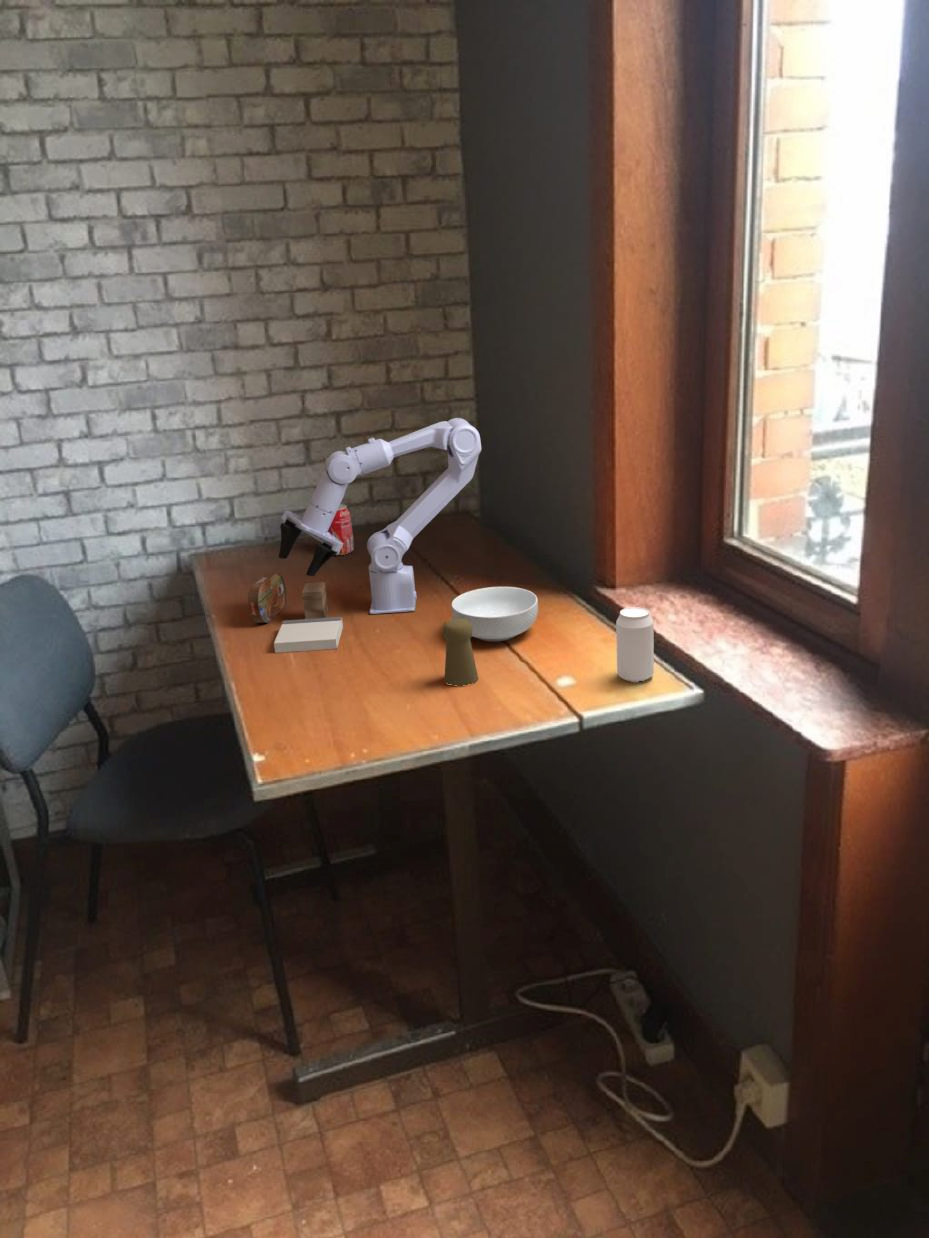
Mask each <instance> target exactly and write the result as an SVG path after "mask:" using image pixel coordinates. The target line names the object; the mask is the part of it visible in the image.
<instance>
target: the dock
mask: <svg viewBox="0 0 929 1238" xmlns="http://www.w3.org/2000/svg"><path fill="white" fill-rule="evenodd" d="M343 628H344V623H343V617H342V616H334V617H331V616H330V617H327V618H316V619H305V618H304V619H303V618H302V619H290V620H289V619H288V620H283V621H282V622H281V626H280V628H279V630H278V632H277V635H276V637H275V639H274V642H273V647H274V653H275V654H277V653H279V654H280V653H293V652H295V653H296V652H306V651H307V652H308V651H320V650H321V651H324V650H325V651H326V650H337V649H338V646H339V643H340V639H341V635H342V631H343Z"/></svg>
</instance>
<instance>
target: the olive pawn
mask: <svg viewBox="0 0 929 1238" xmlns="http://www.w3.org/2000/svg"><path fill="white" fill-rule="evenodd" d="M472 633H473V628H472V625H471V623H470V622H469V621H467V620H464V619H450V620H448V621H446V622H445V623H444V625H443V627H442V635H443V638H444V639H445V641H446V645H445V661H444V662H445V663H444V665H445V666H444V678H443V679H444V680H445V681H444V683H445V682H446V683H448V684H452V685H457V686H463V685H468V684H472V683H474V684H476V683H477V682H478V681H479V676H478V675H479V674H478V670H477V666H476V660H475V656H474V652H473V651H474V650H473V646H472V642H471V638H472ZM446 683H445V684H446ZM472 685H473V684H472ZM463 687H464V686H463Z"/></svg>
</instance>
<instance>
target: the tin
mask: <svg viewBox="0 0 929 1238" xmlns="http://www.w3.org/2000/svg"><path fill="white" fill-rule="evenodd" d="M247 603H248V607H249V612H250V613H249V614H250V616H251V619H252V620H253V622H255V623H257V624H263V623H264V624H265V623H266V624H269V623H271V622H273V619H275V618H276V617H277V616H278V614H280V613H281V612H282V611H283V610H284V609H285V605H286V603H287V589H286V583H285V580H284V578H283V576H282V574H281V573H279V572H274V573H273V572H272V573H266V574H264V575H262V577H261V578H259V579H258V580H257V581H256V582H255V583H253V585H252V586H250V589H249V591H248V596H247Z"/></svg>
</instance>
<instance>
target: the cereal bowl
mask: <svg viewBox="0 0 929 1238" xmlns="http://www.w3.org/2000/svg"><path fill="white" fill-rule="evenodd" d="M538 613H539V600H538V597H537V595H536V594H535V593H534V592H532V591H530V590H528V589H525V588H520V587H515V586H490V587H483V588H477V589H473V590H469V591H466V592H464V593H462V594H460V595H458V596H456V597H455V598H454V599H453V600H452V602H451V614H452V618H453V619H464V620H467V621H469V622H470V623H471V625H472V628H473V633H472V636H471V638H473V637H474V638H477V639H479V640H481V641H485V642H494V643H495V642H503V641H509V640H511V639H513V638H515V637H516V636H518V635H521V634H522V633H524V632H526V631H528V630H529V629H530V627H532V626H533V625H534V623H535V621H536V620H537V617H538ZM453 619H452V620H453Z"/></svg>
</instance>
